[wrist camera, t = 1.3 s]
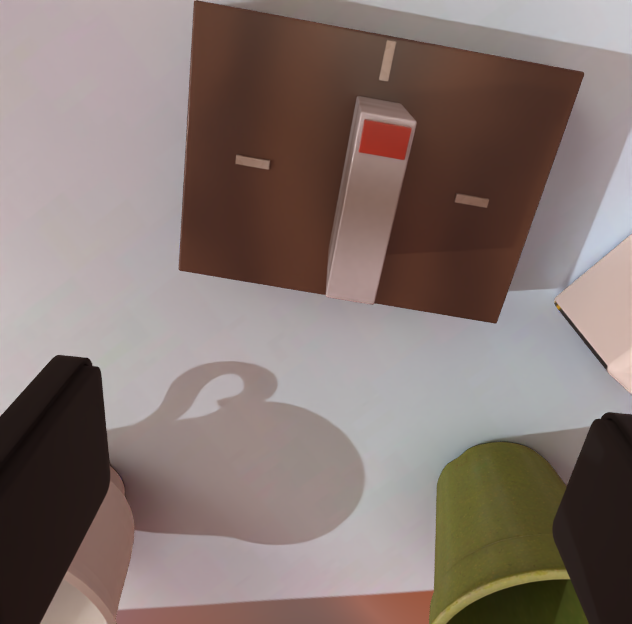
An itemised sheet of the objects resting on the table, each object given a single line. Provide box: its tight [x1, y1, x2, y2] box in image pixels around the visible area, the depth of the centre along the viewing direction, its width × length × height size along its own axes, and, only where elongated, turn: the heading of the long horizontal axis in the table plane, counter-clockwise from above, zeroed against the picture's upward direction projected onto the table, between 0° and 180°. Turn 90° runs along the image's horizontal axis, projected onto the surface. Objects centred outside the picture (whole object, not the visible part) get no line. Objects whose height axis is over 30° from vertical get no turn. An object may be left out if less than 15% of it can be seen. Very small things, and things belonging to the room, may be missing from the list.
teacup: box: [40, 466, 134, 624], centre depth 31 cm, size 12×15×10 cm
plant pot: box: [429, 442, 589, 624], centre depth 30 cm, size 12×12×11 cm
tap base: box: [179, 0, 584, 323], centre depth 25 cm, size 15×11×4 cm
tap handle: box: [326, 96, 417, 305], centre depth 21 cm, size 6×2×5 cm, turn 170°
